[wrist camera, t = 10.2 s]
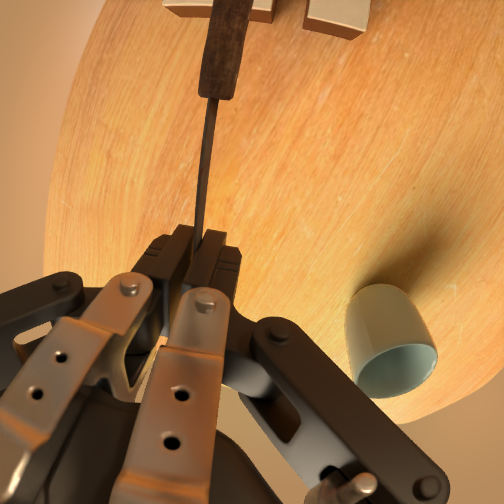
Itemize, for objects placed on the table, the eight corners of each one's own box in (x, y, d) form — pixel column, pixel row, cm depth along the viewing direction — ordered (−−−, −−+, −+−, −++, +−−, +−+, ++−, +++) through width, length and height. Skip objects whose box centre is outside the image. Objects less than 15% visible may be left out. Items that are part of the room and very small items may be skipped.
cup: (334, 329, 33) (346, 403, 24) (342, 272, 29) (363, 346, 21) (397, 326, 32) (421, 393, 24) (413, 270, 29) (451, 337, 20)
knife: (210, 296, 13) (201, 328, 11) (185, 291, 13) (172, 322, 11) (279, -98, 5) (278, -126, 3) (248, -100, 5) (243, -128, 3)
